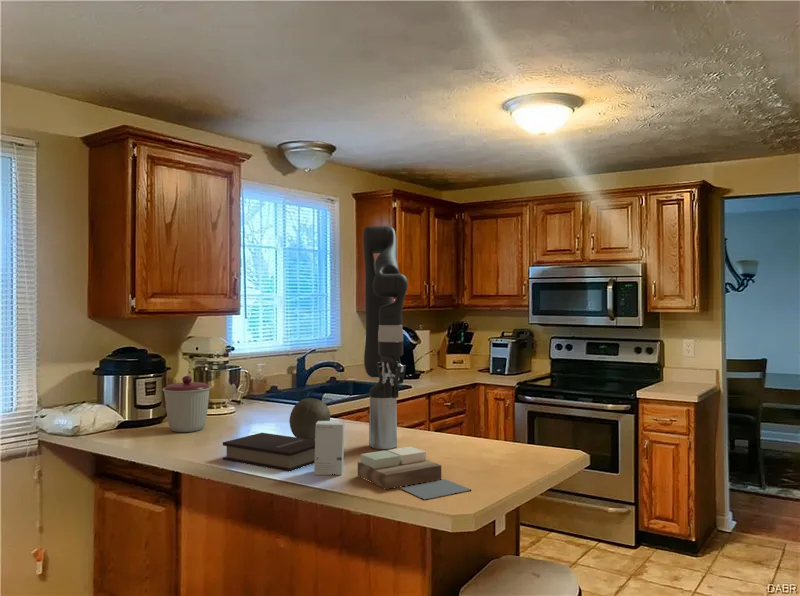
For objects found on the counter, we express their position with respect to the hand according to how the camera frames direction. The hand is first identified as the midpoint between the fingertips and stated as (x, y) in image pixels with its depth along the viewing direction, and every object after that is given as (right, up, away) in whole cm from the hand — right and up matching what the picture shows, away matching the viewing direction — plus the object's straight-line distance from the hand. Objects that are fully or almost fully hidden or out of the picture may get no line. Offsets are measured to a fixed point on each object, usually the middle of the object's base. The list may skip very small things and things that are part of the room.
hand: (391, 396), depth 200 cm
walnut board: (+2, -21, -12) cm, 25 cm away
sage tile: (-3, -17, -12) cm, 21 cm away
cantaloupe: (-30, -21, +37) cm, 52 cm away
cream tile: (+5, -17, -7) cm, 19 cm away
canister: (-80, -22, +58) cm, 101 cm away
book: (-37, -22, +11) cm, 44 cm away
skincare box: (-18, -22, -6) cm, 29 cm away
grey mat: (+12, -21, -24) cm, 34 cm away
